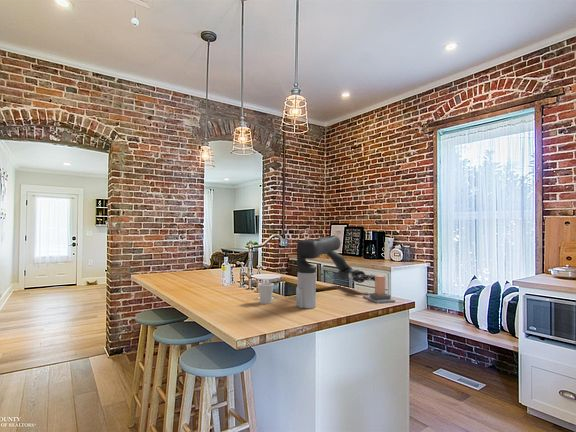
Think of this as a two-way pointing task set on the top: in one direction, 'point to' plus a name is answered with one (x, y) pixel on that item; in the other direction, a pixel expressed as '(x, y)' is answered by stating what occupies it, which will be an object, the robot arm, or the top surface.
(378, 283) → the terracotta peg
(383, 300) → the socket board
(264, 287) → the dixie cup
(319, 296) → the top surface
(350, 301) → the top surface
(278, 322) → the top surface
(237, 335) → the top surface
